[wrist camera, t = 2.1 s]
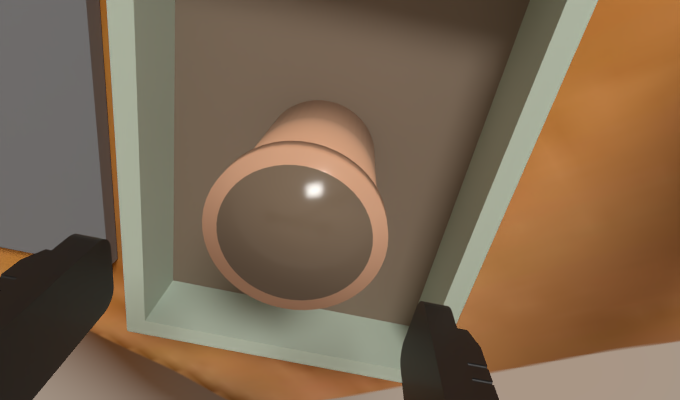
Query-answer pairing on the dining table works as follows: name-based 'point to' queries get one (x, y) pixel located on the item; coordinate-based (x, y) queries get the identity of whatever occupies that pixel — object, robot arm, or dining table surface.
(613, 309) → the dining table surface
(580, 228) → the dining table surface
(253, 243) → the clay pot
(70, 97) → the slate tile
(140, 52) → the pale green tray
